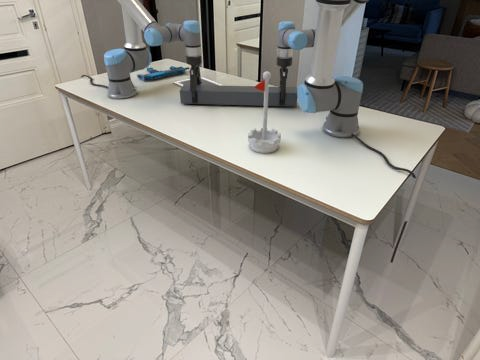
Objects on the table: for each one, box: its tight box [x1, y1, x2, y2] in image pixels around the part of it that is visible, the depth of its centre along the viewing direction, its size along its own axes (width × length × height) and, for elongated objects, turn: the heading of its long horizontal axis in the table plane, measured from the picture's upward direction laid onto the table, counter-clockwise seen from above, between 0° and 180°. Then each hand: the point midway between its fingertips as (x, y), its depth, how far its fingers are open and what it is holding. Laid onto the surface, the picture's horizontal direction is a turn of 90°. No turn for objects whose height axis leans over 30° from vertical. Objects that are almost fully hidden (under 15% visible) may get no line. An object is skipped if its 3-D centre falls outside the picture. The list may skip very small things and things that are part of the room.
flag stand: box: [247, 70, 282, 154], centre depth 129 cm, size 13×13×30 cm
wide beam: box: [179, 84, 298, 108], centre depth 176 cm, size 60×10×7 cm, turn 85°
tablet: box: [172, 76, 226, 88], centre depth 203 cm, size 32×20×1 cm, turn 41°
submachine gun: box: [136, 65, 190, 82], centre depth 223 cm, size 34×4×25 cm
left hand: (196, 99), depth 179 cm, fingers closed on wide beam, 9 cm apart
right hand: (281, 101), depth 175 cm, fingers closed on wide beam, 9 cm apart
